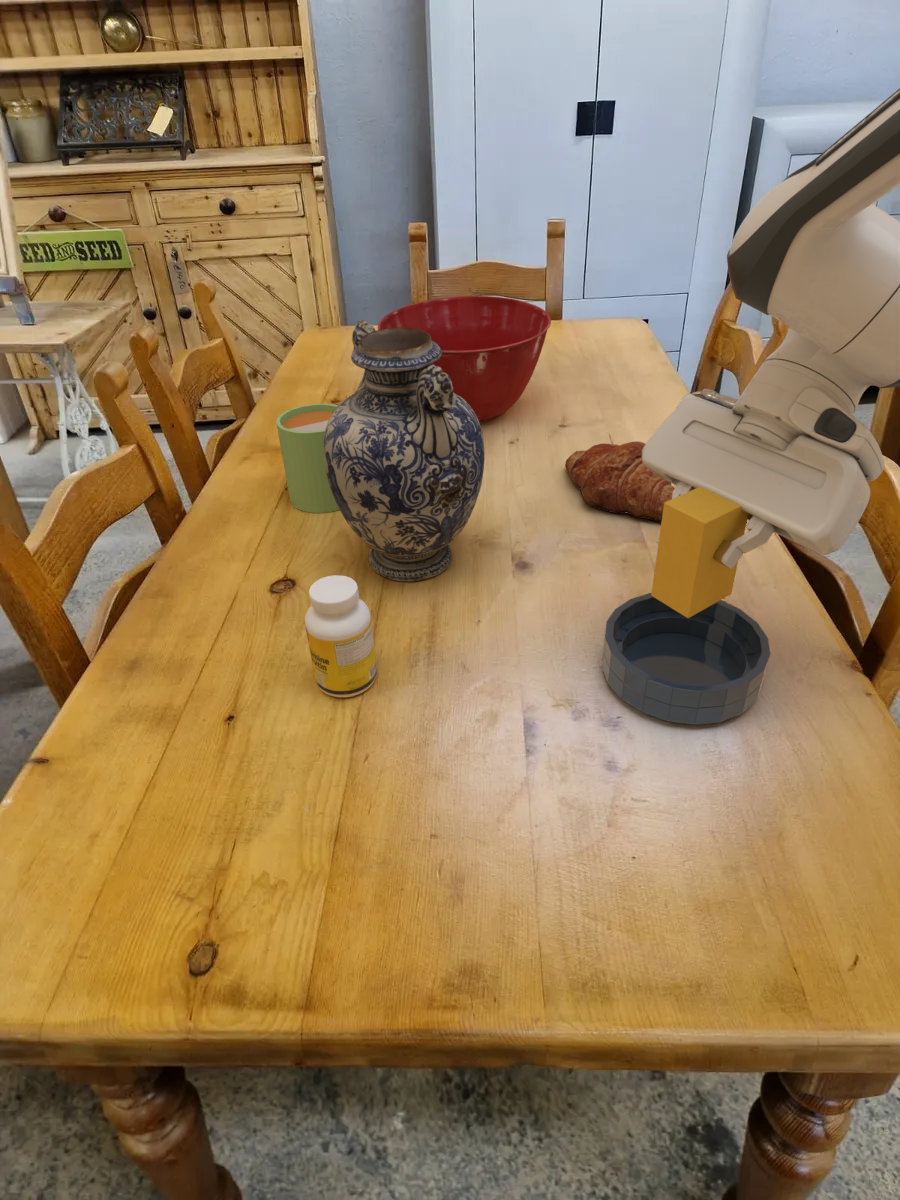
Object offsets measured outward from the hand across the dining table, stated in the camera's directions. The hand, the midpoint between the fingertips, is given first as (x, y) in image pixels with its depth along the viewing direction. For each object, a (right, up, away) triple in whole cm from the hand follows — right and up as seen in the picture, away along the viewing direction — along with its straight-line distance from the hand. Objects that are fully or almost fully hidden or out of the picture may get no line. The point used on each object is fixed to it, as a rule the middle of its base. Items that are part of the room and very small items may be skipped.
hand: (695, 549), depth 71 cm
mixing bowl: (-19, +29, +69) cm, 77 cm away
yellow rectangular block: (+1, -4, +4) cm, 5 cm away
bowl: (+1, -12, +10) cm, 16 cm away
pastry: (+2, +10, +41) cm, 42 cm away
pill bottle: (-33, -13, +12) cm, 37 cm away
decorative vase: (-27, +1, +30) cm, 40 cm away
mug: (-41, +11, +45) cm, 62 cm away
